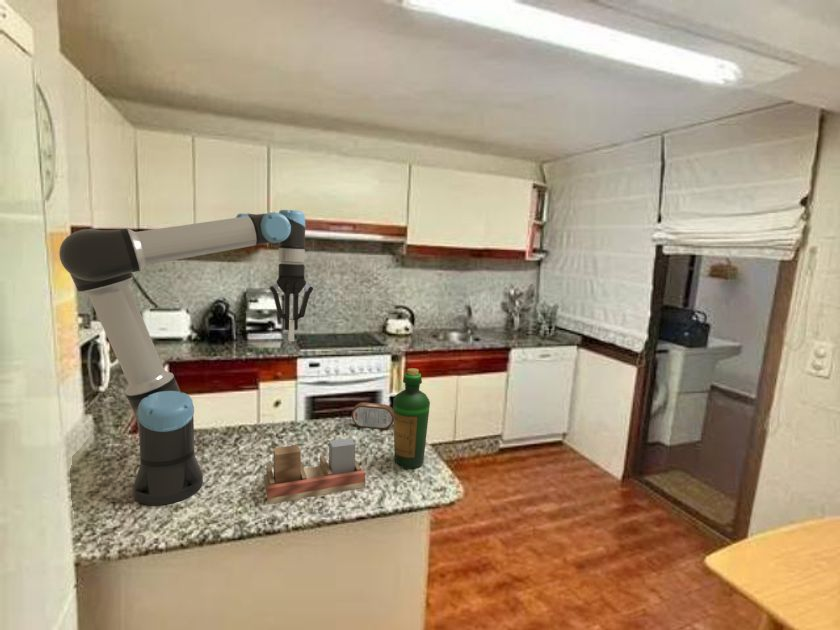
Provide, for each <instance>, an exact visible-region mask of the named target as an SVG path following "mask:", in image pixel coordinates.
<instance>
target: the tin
mask: <svg viewBox="0 0 840 630" xmlns="http://www.w3.org/2000/svg"><path fill="white" fill-rule="evenodd" d="M351 419H352V422H353V423H354V424H355V425H356V426H357V427H360V428H366V429H367V428H368V429H377V430H378V429H379V430H386V429H389V428H390V427H392V425H394V408H392V406H390V405H388V404H385V403H384V404H383V403H373V402H363V401H362V402H359V403H357V404H356V405H354V407H353V409H352V412H351Z"/></svg>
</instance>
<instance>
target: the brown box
mask: <svg viewBox="0 0 840 630" xmlns="http://www.w3.org/2000/svg"><path fill="white" fill-rule="evenodd" d="M301 456H302V455H301V449H300V446H299V445H298V444H296V445H287V446H278V447H274V448H273V473H274V481H275V484H281V483H287V482H293V481H300V469H301V463H302V461H301V460H302V459H301Z"/></svg>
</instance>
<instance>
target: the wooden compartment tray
mask: <svg viewBox="0 0 840 630" xmlns="http://www.w3.org/2000/svg"><path fill="white" fill-rule="evenodd" d="M265 465H266V467H265V468H266V471H265V472H266V473H265V474H263V485H264V489H265V494H266V500H267V505H272V504H279V503H284V502H290V501H296V500H301V499H307V498H311V497H318V496H323V495H328V494H335V493H340V492H341V493H342V492H345V491H350V490H351V491H352V490H358V489H363V488H366V472H365V470H364V469H362V467H361V466H360V464H359V463H358V461H357V459H356V458H355V472H349V473H343V474H337V475H332V472H331V470H330V467H329V462H328V461H327V459H326V457H325V456H324V454H323V455H320V456H319V466H318V465H317V466H313V467H308V468H307V467H306V468H304V466H303V464H302V462H301V469H300V481H293V482H287V483H281V484H275V481H274V471H273V469H272V464H271V462H267V463H266V464H265Z"/></svg>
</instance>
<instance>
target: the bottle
mask: <svg viewBox="0 0 840 630" xmlns="http://www.w3.org/2000/svg"><path fill="white" fill-rule="evenodd" d="M419 371H420V370H419V369H418V368H413V367H411V368H407V372H405V373H404V375H403V379H402V382H403V384H404V389H403V390H402V391H400V392H398V393H397V394H396V395H395V397H393V403H392V405H393V410H394V422H393V446H394V449H393V450H394V452H393V455H394V456H393V457H394V464H396V465H397V466H398V467H400V468H403V469H415V468H418V467H421V466H422V465H423V463H424V460H425V450H426V443H427V442H426V441H427V433H428V424H429V416H430V405H431V400H430V399H429V397H428V395H427V394H426V393H424V392H423V391H422V390H420V387H421V384H423V380H422V374H421V373H419Z"/></svg>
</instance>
